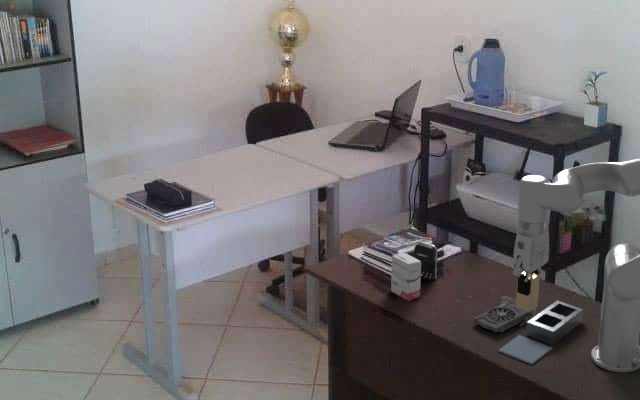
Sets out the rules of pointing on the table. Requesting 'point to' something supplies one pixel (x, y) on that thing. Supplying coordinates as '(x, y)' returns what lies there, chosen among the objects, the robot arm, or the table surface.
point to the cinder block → (554, 322)
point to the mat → (525, 349)
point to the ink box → (406, 276)
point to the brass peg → (532, 299)
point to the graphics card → (504, 316)
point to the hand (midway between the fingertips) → (528, 289)
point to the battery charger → (427, 260)
